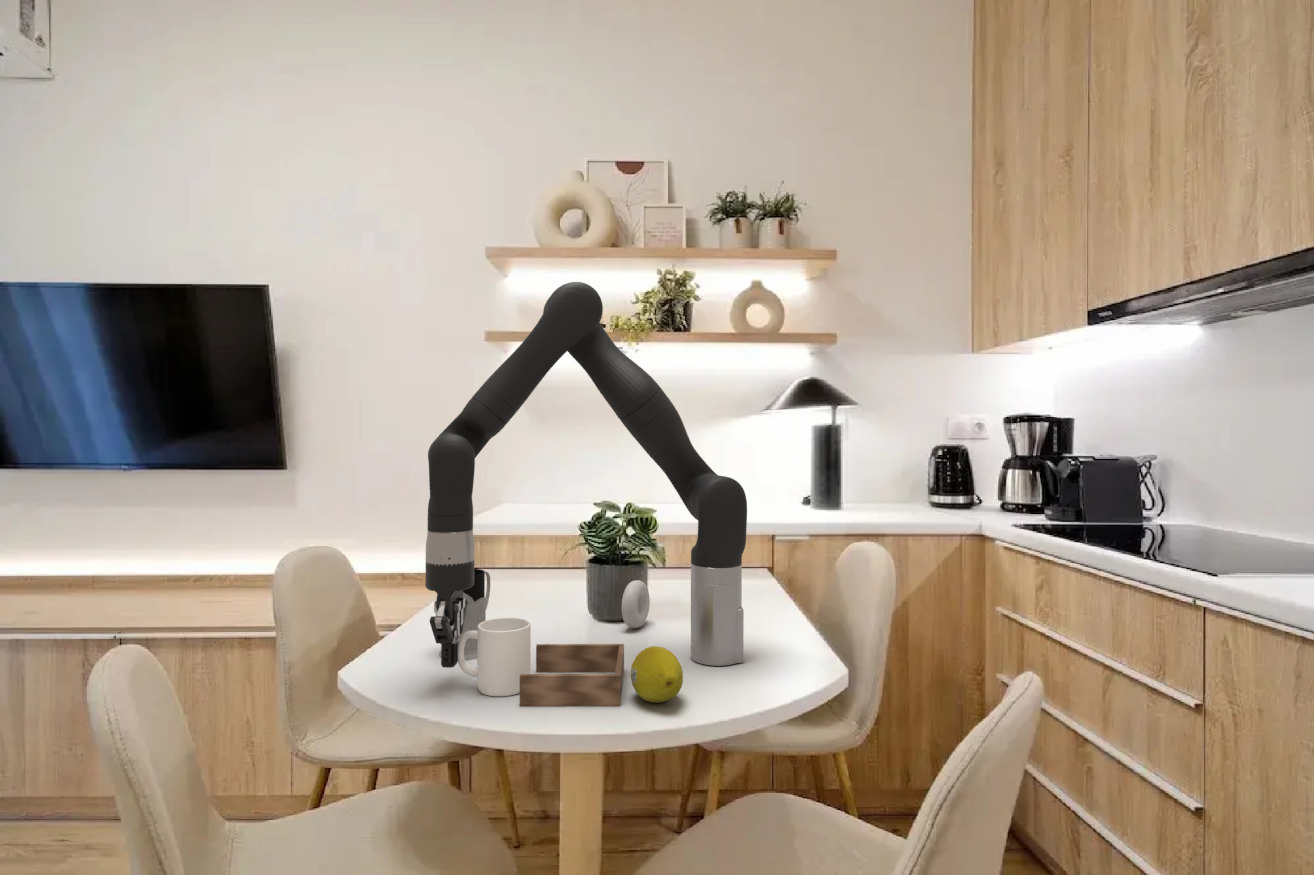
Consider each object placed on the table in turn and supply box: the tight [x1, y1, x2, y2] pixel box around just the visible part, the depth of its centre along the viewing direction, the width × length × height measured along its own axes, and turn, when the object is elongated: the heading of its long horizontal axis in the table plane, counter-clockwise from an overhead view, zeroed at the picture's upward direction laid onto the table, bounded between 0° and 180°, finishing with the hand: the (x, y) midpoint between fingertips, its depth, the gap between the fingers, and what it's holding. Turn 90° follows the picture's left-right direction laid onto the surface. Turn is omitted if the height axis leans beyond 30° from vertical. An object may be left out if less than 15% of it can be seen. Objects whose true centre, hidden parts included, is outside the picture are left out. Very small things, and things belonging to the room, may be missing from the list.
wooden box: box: [519, 643, 625, 707], centre depth 110 cm, size 15×16×4 cm
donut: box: [621, 579, 651, 629], centre depth 144 cm, size 10×3×10 cm, turn 159°
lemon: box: [630, 646, 684, 703], centre depth 104 cm, size 11×8×8 cm
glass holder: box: [438, 568, 491, 661], centre depth 129 cm, size 9×14×15 cm, turn 166°
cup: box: [457, 617, 532, 697], centre depth 109 cm, size 8×12×10 cm
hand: (449, 665), depth 109 cm, fingers closed
